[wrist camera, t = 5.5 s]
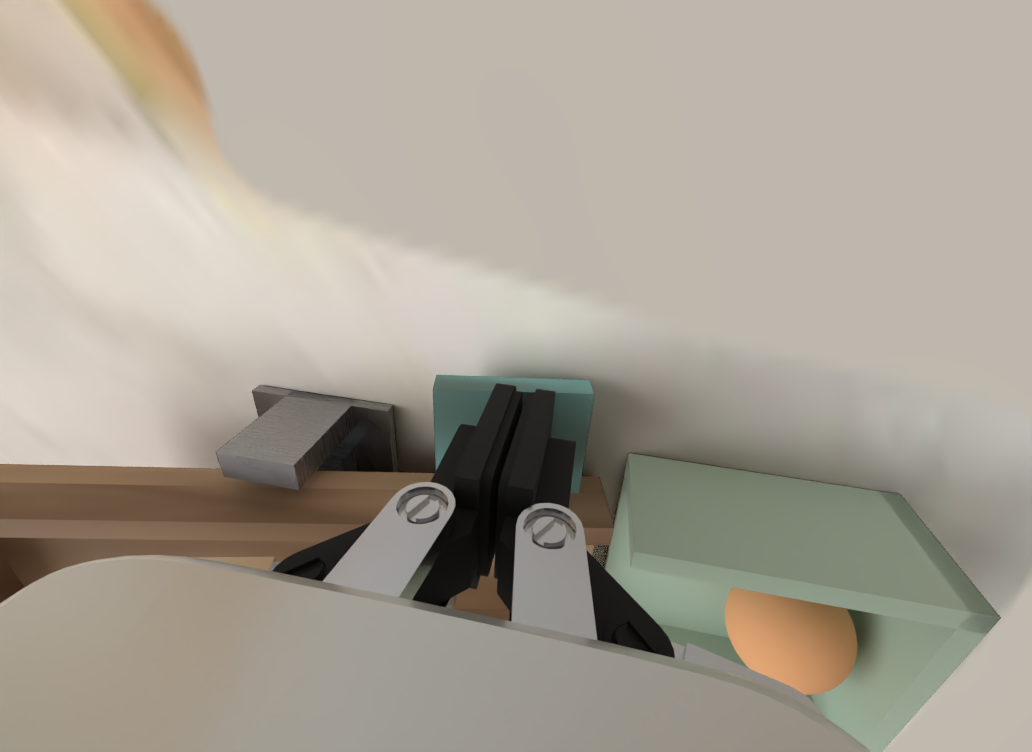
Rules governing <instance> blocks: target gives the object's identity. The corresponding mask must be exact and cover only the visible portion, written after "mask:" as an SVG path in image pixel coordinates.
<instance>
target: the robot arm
mask: <svg viewBox="0 0 1032 752" xmlns="http://www.w3.org/2000/svg"><path fill="white" fill-rule="evenodd" d="M555 393H556V391H550V390H542V389H536V390H535V394H534V393H528V394H527V397H526V400H525V403H524V406H523V409H522V399H523V392H520V391H516V386H514V385H507V384H500V383H496V385H495V387H494V389H493V391H492V393H491V395H490V398H489V400H488V402H487V404H486V406H485V408H484V411H483V413H482V415H481V417H480V419H479V421H478V424H477V426H473V425H467V424H461V425H460V426H459V427H458V429H457V431H456V433H455V435H454V437H453V439H452V441H451V443H450V445H449V447H448V449H447V450H446V452H445V454H444V456H443V458H442V460H441V462H440V464H439V466H438V468H437V470H436V472H435V474H434V476H433V478H432V479H431V481H430V482H419V483H415V484H411V485H408V486H406V487H405V488H403V489H401V490H400V491H399V492H397V493H396V494H395V495H394V496H393V497H392V499H391V500H390V501H389V502H388V503H387V505H386V506H385V507H384V508H383V509H382V511H381V512H380V513H379V514H378V515H377V517H376V518H375V519H374V520H373V521H372V522H370V523H368V524H365V525H363V526H360V527H358V528H355V529H353V530H350V531H348V532H346V533H343V534H341V535H338V536H336V537H333V538H331V539H328V540H326V541H323V542H321V543H318V544H316V545H313V546H311V547H308V548H306V549H304V550H301V551H299V552H296V553H294V554H292V555H291V556H289V557H287V558H285V559H284V560H283V561H282V562H277V561H276V558H275V557H184V556H169V555H133V556H121V557H113V558H106V559H98V560H93V561H89V562H84V563H80V564H77V565H73V566H69V567H66V568H63V569H61V570H58V571H56V572H53V573H51V574H48V575H46V576H45V577H43V578H41V579H39V580H37V581H35V582H33V583H31V584H30V585H28V586H26V587H25V588H23V589H21V590H20V591H18V592H17V593H15V594H13V595H12V596H10V597H9V598H7V599H6V600H4V601H3V602H1V603H0V752H871V751H870V750H869V749H868V748H867V747H866V746H864V745H863V744H862V743H860V742H859V741H858V740H857V739H855V738H854V737H853V736H851V735H850V734H849V733H847V732H846V731H844V730H843V729H842V728H840V727H839V726H837V725H836V724H834V723H833V722H831V721H830V720H828V719H827V718H825V717H824V715H823V714H822V712H821V711H820V709H819V708H818V707H817V706H816V705H815V704H814V703H813V702H812V701H811V700H810V699H809V698H808V697H807V696H806V695H804V694H803V693H801V692H799V691H798V690H796V689H794V688H793V687H791V686H789V685H786V684H784V683H782V682H779V681H777V680H775V679H772V678H770V677H768V676H765V675H763V674H761V673H758V672H756V671H754V670H751V669H749V668H747V667H744V666H742V665H740V664H737V663H735V662H732V661H730V660H728V659H725V658H723V657H721V656H718V655H716V654H714V653H711V652H709V651H707V650H704V649H702V648H700V647H697V646H695V645H693V644H690V643H688V642H687V644H686V646H685V647H683V646H681V645H678V644H676V643H674V642H671V641H670V639H669V637H668V636H667V635H666V633H665V632H664V631H663V629H662V628H661V627H660V626H659V625H658V624H657V623H656V622H655V620H654V619H653V618H652V617H651V616H650V615H649V614H648V613H647V612H646V611H645V610H644V609H643V608H642V607H641V606H640V605H639V604H638V603H637V602H636V601H635V600H634V599H633V598H632V597H631V596H630V595H629V594H628V593H627V592H626V590H625V589H624V588H623V587H622V586H621V585H620V584H619V583H618V582H617V581H616V580H615V579H614V578H613V577H612V576H611V575H610V574H609V573H608V572H607V571H606V570H605V569H604V568H603V567H602V566H601V565H600V564H599V563H598V562H597V561H596V559H595V558H594V557H593V556H592V555H591V554H590V553H589V552H588V551H587V550H586V544H585V535H584V529H583V526H582V523H581V521H580V519H579V518H578V517H577V515H576V514H575V513H573V512H572V511H571V510H569V500H570V492H571V483H572V475H573V466H574V457H575V449H576V441H570V440H564V439H557V438H551V430H552V421H553V412H554V403H555ZM494 555H495V565H494V578H495V579H497V594H498V595H499V597H500V598H501V600H502V601H503V603H504V604H505V605H506V607H507V608H508V610H509V621H507V620H502V619H498V618H493V617H488V616H484V615H479V614H474V613H469V612H465V611H460V610H455V609H453V608H454V606H455V603H456V600H457V596H456V595H457V594H459V593H461V592H463V591H465V590H467V589H468V588H472V589H477V586H478V583H479V580H480V576H485V577H488V576H489V573H490V569H491V566H492V562H493V559H494Z"/></svg>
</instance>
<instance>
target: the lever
mask: <svg viewBox="0 0 1032 752" xmlns="http://www.w3.org/2000/svg"><path fill="white" fill-rule="evenodd" d="M496 383H500V384H507V385H514V386H516V391H520V392H523V399H522V409H523V406H524V403H525V400H526V397H527V394H528V393H534V394H535V390H536V389H542V390H550V391H556V393H555V403H554V412H553V421H552V430H551V438H557V439H564V440H570V441H576V449H575V457H574V466H573V475H572V483H571V492H570V500H569V510H571V511H572V512H573V513H575V514H576V515H577V517H578V518H579V519H580V521H581V523H582V526H583V529H584V535H585V544H586V550H587V551H588V552H589V553H590V554H591V555H593V550H594V545H611V540H612V536H613V531H614V526H613V523H612V519H611V516H610V512H609V509H608V505H607V502H606V498H605V495H604V491H603V488H602V484H601V481H600V477H589V476H582V470H583V464H584V457H585V451H586V445H587V438H588V432H589V426H590V419H591V413H592V406H593V400H594V391H593V389H592V386H591V383H590V380H577V379H546V378H515V377H484V376H453V375H436V379H435V383H434V387H433V406H434V432H435V459H436V470H437V468H438V466H439V464H440V462H441V460H442V458H443V456H444V454H445V452H446V450H447V449H448V447H449V445H450V443H451V441H452V439H453V437H454V435H455V433H456V431H457V429H458V427H459V426H460V425H461V424H467V425H473V426H477V424H478V421H479V419H480V417H481V415H482V413H483V411H484V408H485V406H486V404H487V402H488V400H489V398H490V395H491V393H492V391H493V389H494V387H495V385H496ZM434 474H435V473H400V472H352V471H316V472H315V473H314V474H313V475H312V476H311V477H310V479H309V480H308V481H307V482H306V483H305V484H304V485H303V487H302V488H301V489H300V490H295V489H289V488H284V487H278V486H273V485H267V484H262V483H256V482H251V481H245V480H240V479H234V478H229V477H224V476H223V473H222V470H221V469H210V468H162V467H115V466H68V465H20V464H0V603H1V602H3V601H4V600H6V599H7V598H9V597H10V596H12V595H13V594H15V593H17V592H18V591H20V590H21V589H23V588H25V587H26V586H28V585H30V584H31V583H33V582H35V581H37V580H39V579H41V578H43V577H45V576H46V575H48V574H51V573H53V572H56V571H58V570H61V569H63V568H66V567H69V566H73V565H77V564H80V563H84V562H89V561H93V560H98V559H106V558H113V557H121V556H133V555H169V556H184V557H275V558H276V561H277V562H282V561H283V560H284V559H285V558H287V557H289V556H291V555H292V554H294V553H296V552H299V551H301V550H304V549H306V548H308V547H311V546H313V545H316V544H318V543H321V542H323V541H326V540H328V539H331V538H333V537H336V536H338V535H341V534H343V533H346V532H348V531H350V530H353V529H355V528H358V527H360V526H363V525H365V524H368V523H370V522H372V521H373V520H374V519H375V518H376V517H377V515H378V514H379V513H380V512H381V511H382V509H383V508H384V507H385V506H386V505H387V503H388V502H389V501H390V500H391V499H392V497H393V496H394V495H395V494H396V493H397V492H399V491H400V490H401V489H403V488H405V487H406V486H408V485H411V484H415V483H419V482H430V481H431V479H432V478H433V476H434ZM494 565H495V555H494V559H493V562H492V566H491V569H490V573H489V576H488V577H485V576H480V580H479V583H478V586H477V589H472V588H468V589H467V590H465V591H463V592H461V593H459V594H457V595H456V596H457V600H456V603H455V606H454V608H453V609H455V610H460V611H465V612H469V613H474V614H479V615H484V616H488V617H493V618H498V619H502V620H507V621H509V610H508V608H507V607H506V605H505V604H504V603H503V601H502V600H501V598H500V597H499V595H498V594H497V579H495V578H494Z"/></svg>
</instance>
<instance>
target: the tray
mask: <svg viewBox="0 0 1032 752" xmlns="http://www.w3.org/2000/svg"><path fill="white" fill-rule="evenodd" d="M613 526H614V531H613V536H612V540H611V545H609V548H608V552H607V557H606V562H605V567H604V569H605V570H606V571H607V572H608V573H609V574H610V575H611V576H612V577H613V578H614V579H615V580H616V581H617V582H618V583H619V584H620V585H621V586H622V587H623V588H624V589H625V590H626V592H627V593H628V594H629V595H630V596H631V597H632V598H633V599H634V600H635V601H636V602H637V603H638V604H639V605H640V606H641V607H642V608H643V609H644V610H645V611H646V612H647V613H648V614H649V615H650V616H651V617H652V618H653V619H654V620H655V622H656V623H657V624H658V625H659V626H660V627H661V628H662V629H663V631H664V632H665V633H666V635H667V636H668V637H669V639H670V641H671V642H674V643H676V644H678V645H681V646H683V647H685V646H686V644H687V642H688V643H690V644H693V645H695V646H697V647H700V648H702V649H704V650H707V651H709V652H711V653H714V654H716V655H718V656H721V657H723V658H725V659H728V660H730V661H732V662H735V663H737V664H740V665H742V666H744V667H747V666H746V665H745V663H744V662H743V661H742V659H741V658H740V657H739V655H738V654H737V652H736V651H735V649H734V647H733V645H732V643H731V641H730V638H729V635H728V632H727V629H726V624H725V605H726V600H727V597H728V594H729V591H730V589H731V588H732V587H734V588H739V589H745V590H750V591H755V592H761V593H766V594H772V595H777V596H782V597H788V598H793V599H799V600H804V601H809V602H815V603H820V604H825V605H831V606H836V607H842V608H846V609H847V610H848V612H849V614H850V616H851V619H852V621H853V624H854V627H855V631H856V636H857V656H856V660H855V664H854V667H853V669H852V670H851V672H850V674H849V676H848V677H847V678H846V679H845V680H844V681H843V682H842V683H841V684H840V685H838V686H837V687H835V688H834V689H832V690H830V691H827V692H824V693H821V694H815V695H806V696H807V697H808V698H809V699H810V700H811V701H812V702H813V703H814V704H815V705H816V706H817V707H818V708H819V709H820V711H821V712H822V714H823V715H824V717H825V718H827V719H828V720H830V721H831V722H833V723H834V724H836V725H837V726H839V727H840V728H842V729H843V730H844V731H846V732H847V733H849V734H850V735H851V736H853V737H854V738H855V739H857V740H858V741H859V742H860V743H862V744H863V745H864V746H866V747H867V748H868V749H869V750H870V751H871V752H882V751H883V750H884V749H885V748H886V747H887V746H888V744H889V743H890V742H891V741H892V740H893V739H894V738H895V737H896V735H897V734H898V733H899V732H900V731H901V730H902V729H903V728H904V726H905V725H906V724H907V723H908V722H909V721H910V720H911V719H912V717H913V716H914V715H915V714H916V713H917V712H918V711H919V710H920V708H921V707H922V706H923V705H924V704H925V703H926V702H927V701H928V699H929V698H930V697H931V696H932V695H933V694H934V693H935V692H936V690H937V689H938V688H939V687H940V686H941V685H942V684H943V683H944V681H945V680H946V679H947V678H948V677H949V676H950V675H951V674H952V672H953V671H954V670H955V669H956V668H957V667H958V666H959V664H960V663H961V662H962V661H963V660H964V659H965V658H966V657H967V655H968V654H969V653H970V652H971V651H972V650H973V649H974V648H975V646H976V645H977V644H978V643H979V642H980V641H981V640H982V639H983V637H984V636H985V635H986V634H987V633H988V632H989V631H990V630H991V628H992V627H993V626H994V625H995V624H996V623H997V622H998V621H999V619H1000V618H1001V617H1000V616H999V615H998V614H997V612H996V611H995V610H994V609H993V608H992V606H991V605H990V604H989V603H988V601H987V600H986V599H985V598H984V596H983V595H982V594H981V593H980V592H979V590H978V589H977V588H976V587H975V585H974V584H973V583H972V582H971V580H970V579H969V578H968V577H967V575H966V574H965V573H964V572H963V571H962V569H961V568H960V567H959V566H958V564H957V563H956V562H955V561H954V559H953V558H952V557H951V556H950V555H949V553H948V552H947V551H946V550H945V548H944V547H943V546H942V545H941V543H940V542H939V541H938V540H937V539H936V537H935V536H934V535H933V534H932V532H931V531H930V530H929V529H928V527H927V526H926V525H925V524H924V523H923V521H922V520H921V519H920V518H919V516H918V515H917V514H916V513H915V511H914V510H913V509H912V508H911V507H910V505H909V504H908V503H907V502H906V500H905V499H904V498H903V497H902V495H900V494H894V493H887V492H881V491H874V490H867V489H861V488H854V487H848V486H841V485H835V484H828V483H822V482H815V481H808V480H802V479H795V478H789V477H782V476H776V475H769V474H762V473H756V472H749V471H743V470H736V469H730V468H723V467H717V466H710V465H703V464H697V463H690V462H684V461H677V460H671V459H664V458H657V457H651V456H644V455H638V454H631V453H629V454H628V459H627V463H626V468H625V473H624V478H623V482H622V487H621V492H620V496H619V501H618V506H617V510H616V515H615V520H614V524H613ZM747 668H748V667H747Z"/></svg>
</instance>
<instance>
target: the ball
mask: <svg viewBox="0 0 1032 752" xmlns="http://www.w3.org/2000/svg"><path fill="white" fill-rule="evenodd" d="M725 624H726V629H727V632H728V635H729V638H730V641H731V643H732V645H733V647H734V649H735V651H736V652H737V654H738V655H739V657H740V658H741V659H742V661H743V662H744V663H745V665H746V666H747V667H748V668H749V669H751V670H754V671H756V672H758V673H761V674H763V675H765V676H768V677H770V678H772V679H775V680H777V681H779V682H782V683H784V684H786V685H789V686H791V687H793V688H794V689H796V690H798V691H799V692H801V693H803V694H804V695H815V694H821V693H824V692H827V691H830V690H832V689H834V688H835V687H837V686H838V685H840V684H841V683H842V682H843V681H844V680H845V679H846V678H847V677H848V676H849V674H850V672H851V670H852V669H853V667H854V664H855V660H856V656H857V636H856V631H855V627H854V624H853V621H852V619H851V616H850V614H849V612H848V610H847V609H846V608H842V607H836V606H831V605H825V604H820V603H815V602H809V601H804V600H799V599H793V598H788V597H782V596H777V595H772V594H766V593H761V592H755V591H750V590H745V589H739V588H734V587H732V588H731V589H730V591H729V594H728V597H727V600H726V605H725Z"/></svg>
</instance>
